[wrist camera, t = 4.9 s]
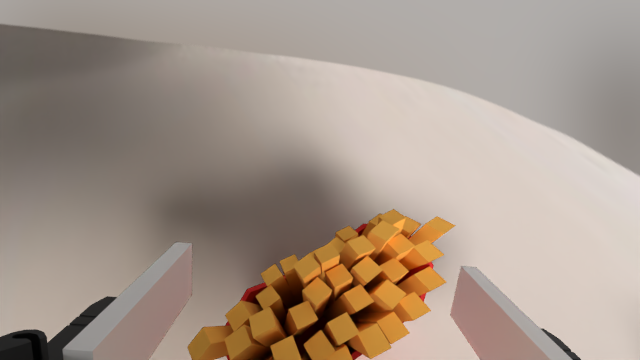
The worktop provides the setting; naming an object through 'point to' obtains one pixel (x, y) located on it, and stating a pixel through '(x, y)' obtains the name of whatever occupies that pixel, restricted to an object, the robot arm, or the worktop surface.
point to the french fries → (334, 297)
